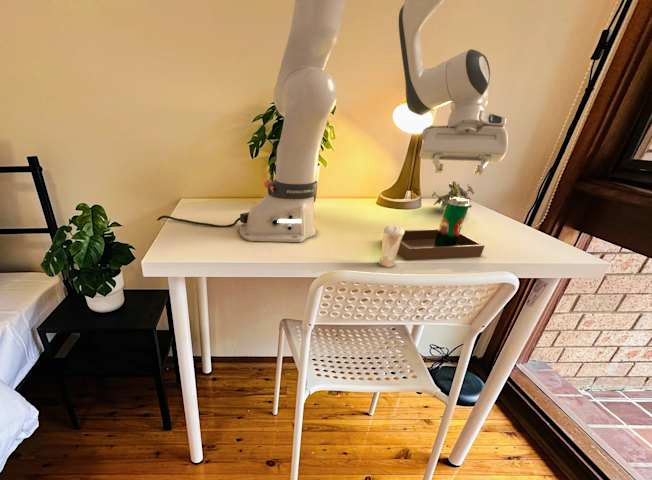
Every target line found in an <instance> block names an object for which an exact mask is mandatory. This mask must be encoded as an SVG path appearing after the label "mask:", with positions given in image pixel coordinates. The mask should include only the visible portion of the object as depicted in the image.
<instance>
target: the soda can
mask: <svg viewBox="0 0 652 480" xmlns="http://www.w3.org/2000/svg"><path fill="white" fill-rule="evenodd" d="M469 209H470V208H469V200H468V199H465V198H460V197H452V198H450V199H449V201H448V202H447V203H446V206H445V207H444V210H443V213H442V216H441V220H440V223H439V226H438V228H437V229H438V233H437V236H436V239H435V245H436V247H439V246H456V243H457V240H458V237H459V234H460V232H461V231H462V228H463V225H464V222H465V219H466V217H467V214H468V212H469V211H468V210H469Z"/></svg>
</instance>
